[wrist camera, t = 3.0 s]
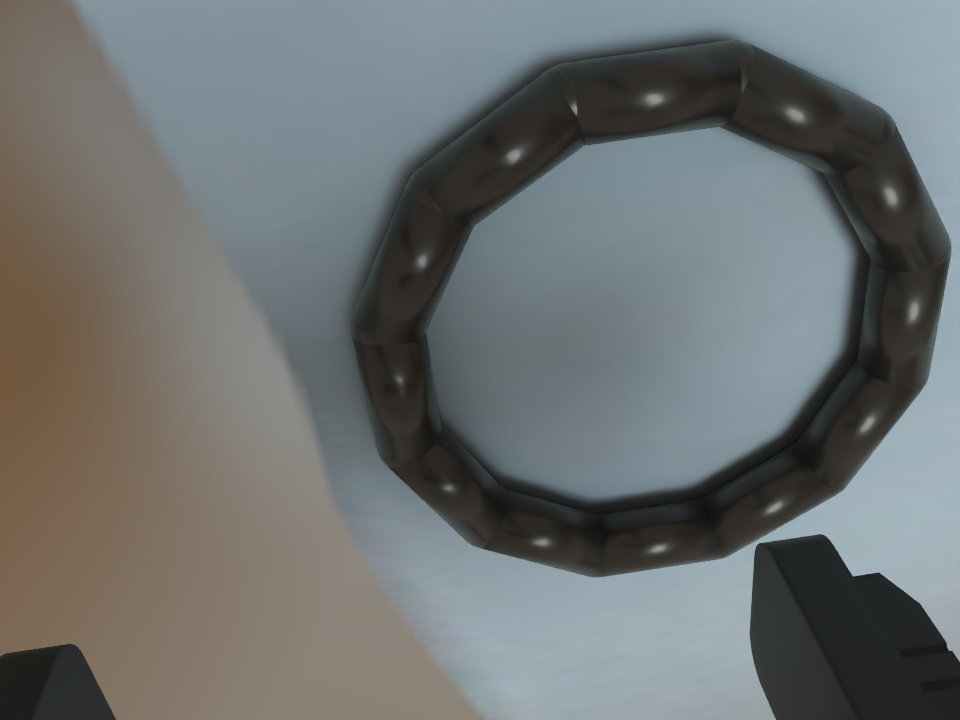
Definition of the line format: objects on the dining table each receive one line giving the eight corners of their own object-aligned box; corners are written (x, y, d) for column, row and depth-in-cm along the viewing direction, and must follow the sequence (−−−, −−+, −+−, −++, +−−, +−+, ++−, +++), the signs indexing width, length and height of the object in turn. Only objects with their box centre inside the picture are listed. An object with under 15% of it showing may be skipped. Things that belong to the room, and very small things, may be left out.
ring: (407, 575, 19) (409, 619, 18) (304, 89, 13) (298, 112, 12) (882, 503, 19) (911, 543, 18) (966, -2, 14) (1013, 13, 12)
